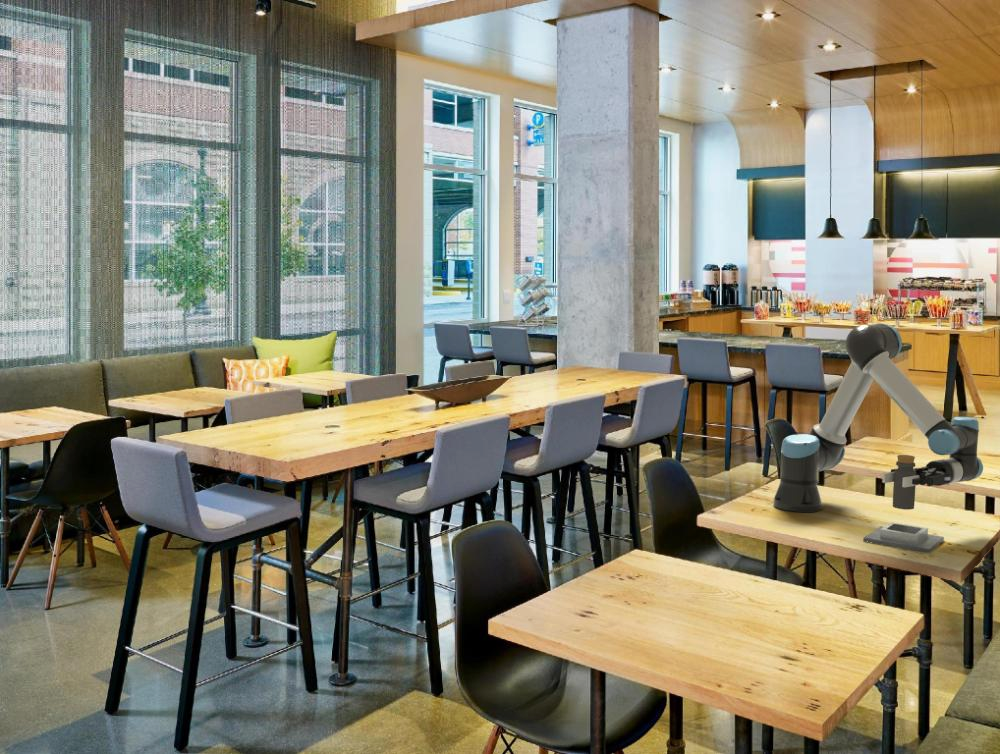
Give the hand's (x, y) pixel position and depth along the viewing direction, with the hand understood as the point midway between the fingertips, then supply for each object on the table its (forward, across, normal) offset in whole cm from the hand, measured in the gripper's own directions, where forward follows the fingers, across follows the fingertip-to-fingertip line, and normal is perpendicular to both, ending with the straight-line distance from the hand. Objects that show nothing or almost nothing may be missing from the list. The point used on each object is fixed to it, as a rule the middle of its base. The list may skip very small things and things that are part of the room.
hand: (893, 480), depth 280 cm
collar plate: (-5, 0, -18) cm, 19 cm away
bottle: (-5, 0, -9) cm, 10 cm away
